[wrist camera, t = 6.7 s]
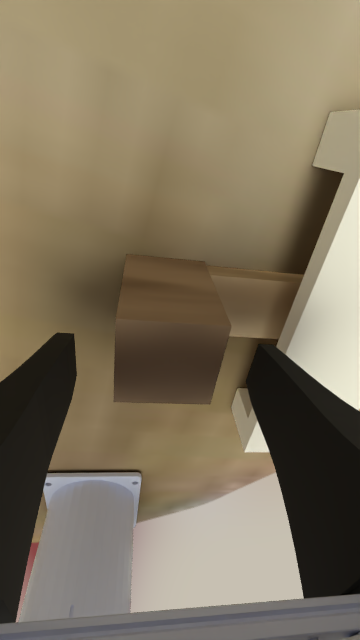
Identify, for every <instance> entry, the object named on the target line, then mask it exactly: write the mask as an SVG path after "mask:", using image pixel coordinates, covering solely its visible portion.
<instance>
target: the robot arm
mask: <svg viewBox="0 0 360 640" xmlns="http://www.w3.org/2000/svg"><path fill="white" fill-rule="evenodd" d="M76 376H77V371H76V356H75V340H74V334H70V333H56V334H55V335H53V336H52V337H51V338H50V339H49V340H48V341H47V342H46V343H45V344H44V345H43V346H42V347H41V348H40V349H39V350H38V351H37V352H35V353H34V354H33V355H32V356H31V357H30V358H29V359H28V360H27V361H25V362H24V363H23V364H22V365H21V366H20V367H19V368H18V369H16V370H15V371H14V372H13V373H11V374H10V375H9V376H8V377H6V378H5V379H4V380H3V381H1V382H0V640H360V411H358V410H357V409H355V408H354V407H352V406H351V405H349V404H348V403H346V402H345V401H343V400H342V399H340V398H339V397H338V396H336V395H335V394H334V393H332V392H331V391H330V390H328V389H327V388H326V387H324V386H323V385H322V384H320V383H319V382H318V381H317V380H315V379H314V378H313V377H312V376H310V375H309V374H308V373H307V372H306V371H304V370H303V369H302V368H301V367H300V366H298V365H297V364H296V363H295V362H294V361H293V360H291V359H290V358H289V357H288V356H287V355H285V354H284V353H283V352H282V351H280V350H279V349H278V348H277V347H275V346H274V345H267V344H259V345H258V348H257V350H256V353H255V356H254V359H253V362H252V365H251V368H250V371H249V374H248V377H247V379H246V384H247V389H248V393H249V397H250V401H251V405H252V407H253V410H254V413H255V415H256V418H257V421H258V423H259V426H260V428H261V431H262V434H263V436H264V439H265V441H266V444H267V446H268V449H269V452H270V454H271V457H272V460H273V463H274V466H275V469H276V473H277V477H278V480H279V484H280V487H281V491H282V495H283V499H284V503H285V507H286V511H287V515H288V520H289V524H290V529H291V533H292V538H293V542H294V547H295V551H296V557H297V562H298V568H299V573H300V578H301V584H302V590H303V596H304V599H293V600H282V601H269V602H258V603H245V604H233V605H221V606H209V607H197V608H186V609H173V610H162V611H150V612H137V613H130V605H131V578H132V552H133V528H135V526H136V520H137V512H138V503H139V495H140V487H141V474H140V473H138V472H113V473H47V472H48V468H49V465H50V461H51V458H52V455H53V452H54V449H55V446H56V443H57V440H58V438H59V435H60V432H61V429H62V426H63V423H64V420H65V417H66V415H67V412H68V409H69V406H70V403H71V400H72V396H73V391H74V386H75V381H76ZM43 491H44V495H45V500H46V505H47V510H48V511H47V515H46V519H45V523H44V527H43V530H42V534H41V538H40V542H39V546H38V550H37V553H36V557H35V561H34V565H33V569H32V572H31V576H30V580H29V584H28V587H27V591H26V595H25V599H24V603H23V606H22V610H21V614H20V618H19V622H17V623H15V622H16V617H17V611H18V606H19V601H20V596H21V591H22V585H23V581H24V575H25V570H26V565H27V561H28V556H29V551H30V547H31V542H32V537H33V533H34V528H35V523H36V519H37V515H38V510H39V506H40V501H41V497H42V493H43Z"/></svg>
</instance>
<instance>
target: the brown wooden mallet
mask: <svg viewBox="0 0 360 640" xmlns="http://www.w3.org/2000/svg"><path fill="white" fill-rule="evenodd" d="M303 277H304V275H301V274H291V273H280V272H270V271H259V270H249V269H238V268H228V267H217V266H207V265H206V264H205V262H203V261H193V260H182V259H172V258H162V257H151V256H141V255H131V254H127V255H126V261H125V267H124V273H123V279H122V285H121V290H120V296H119V302H118V308H117V314H116V324H115V368H114V402H131V403H174V404H210V403H211V399H212V396H213V392H214V389H215V385H216V381H217V378H218V374H219V371H220V367H221V363H222V360H223V356H224V352H225V349H226V345H227V342H228V338H229V336H233V337H250V338H267V339H279V338H280V335H281V333H282V330H283V328H284V325H285V323H286V320H287V318H288V315H289V313H290V310H291V307H292V305H293V302H294V300H295V297H296V295H297V292H298V290H299V287H300V285H301V282H302V279H303Z"/></svg>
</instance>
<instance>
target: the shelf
mask: <svg viewBox="0 0 360 640" xmlns="http://www.w3.org/2000/svg"><path fill="white" fill-rule="evenodd" d="M312 166H315V167H319V168H324V169H328V170H332V171H337V172H341V173H344V175H343V177H342V180H341V183H340V185H339V188H338V190H337V193H336V195H335V198H334V200H333V203H332V205H331V208H330V211H329V213H328V216H327V218H326V221H325V223H324V226H323V228H322V231H321V234H320V236H319V239H318V241H317V244H316V246H315V249H314V251H313V254H312V256H311V259H310V262H309V264H308V267H307V269H306V272H305V274H304V277H303V279H302V282H301V285H300V287H299V290H298V292H297V295H296V297H295V300H294V302H293V305H292V307H291V310H290V313H289V315H288V318H287V320H286V323H285V325H284V328H283V330H282V333H281V335H280V338H279V341H278V343H277V346H276V347H277V348H278V349H279V350H280V351H282V352H283V353H284V354H285V355H287V356H288V357H289V358H290V359H291V360H293V361H294V362H295V363H296V364H297V365H298V366H300V367H301V368H302V369H303V370H304V371H306V372H307V373H308V374H309V375H310V376H312V377H313V378H314V379H315V380H317V381H318V382H319V383H320V384H322V385H323V386H324V387H326V388H327V389H328V390H330V391H331V392H332V393H334V394H335V395H336V396H338V397H339V398H340V399H342V400H343V401H345V402H346V403H348V404H349V405H351V406H352V407H354V408H355V409H357V410H359V409H360V109H359V110H347V111H336V112H330V114H329V117H328V120H327V123H326V126H325V129H324V132H323V135H322V138H321V141H320V144H319V147H318V150H317V153H316V156H315V159H314V162H313V165H312ZM231 409H232V412H233V416H234V419H235V423H236V426H237V429H238V433H239V436H240V439H241V443H242V446H243V450H244V452H269V449H268V446H267V444H266V441H265V439H264V436H263V434H262V431H261V428H260V426H259V423H258V421H257V418H256V415H255V413H254V410H253V407H252V405H251V401H250V397H249V393H248V389H247V388H237V391H236V394H235V397H234V400H233V403H232V406H231Z"/></svg>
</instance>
